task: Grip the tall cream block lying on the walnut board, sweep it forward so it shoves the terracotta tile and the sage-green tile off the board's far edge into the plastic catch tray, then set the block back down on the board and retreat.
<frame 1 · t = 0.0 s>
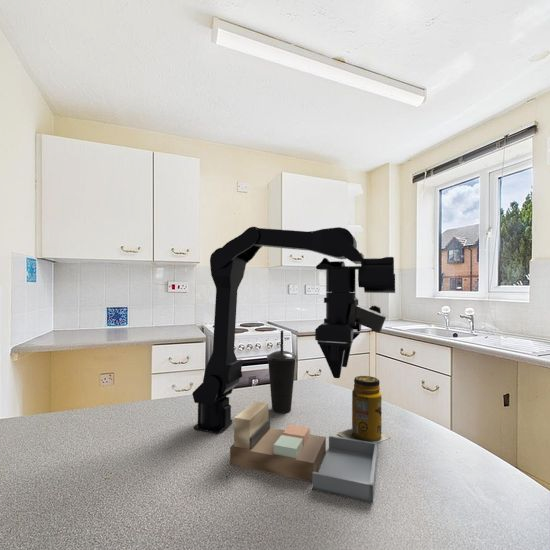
hand: (340, 372, 65), 15 cm above the countertop, tool pointing down, fingers open, 9 cm apart
tile terracotta: (296, 438, 62), point 3 cm above the countertop, touching walnut board
catch tray: (347, 471, 56), on the countertop
drinking cup: (281, 410, 85), on the countertop
tile sage: (288, 450, 57), point 3 cm above the countertop, touching walnut board
tall cream block: (252, 436, 63), point 3 cm above the countertop, touching walnut board
condiment: (363, 437, 70), on the countertop
walnut board: (279, 458, 61), on the countertop
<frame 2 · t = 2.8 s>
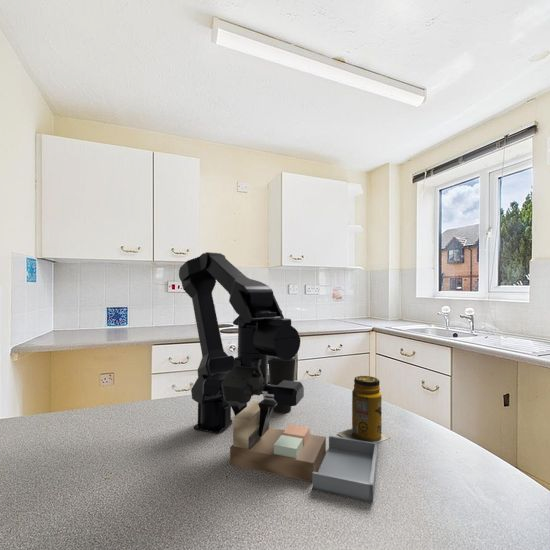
hand: (252, 434, 63), 4 cm above the countertop, tool pointing down, fingers closed on tall cream block, 3 cm apart
tall cream block: (251, 436, 63), point 3 cm above the countertop, touching gripper, walnut board
everything else where it was.
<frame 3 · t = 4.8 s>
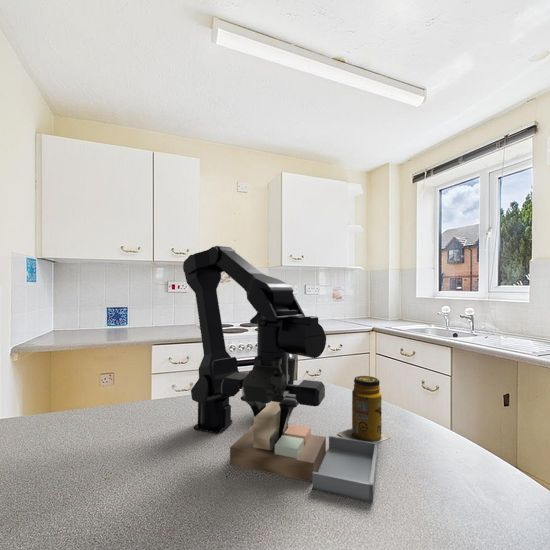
hand: (271, 435, 61), 4 cm above the countertop, tool pointing down, fingers closed on tall cream block, 3 cm apart
tile terracotta: (297, 438, 62), point 3 cm above the countertop, touching gripper, walnut board
tile sage: (289, 450, 57), point 3 cm above the countertop, touching gripper, walnut board
tall cream block: (270, 437, 61), point 3 cm above the countertop, touching gripper
everything else where it was.
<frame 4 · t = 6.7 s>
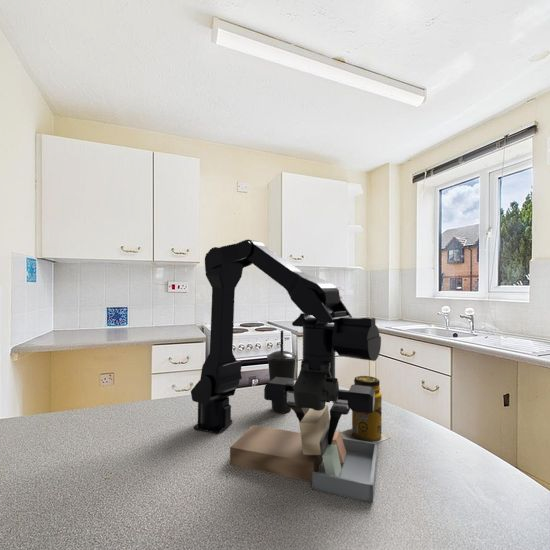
hand: (318, 442, 58), 4 cm above the countertop, tool pointing down, fingers closed on tall cream block, 4 cm apart
tile terracotta: (333, 447, 60), point 2 cm above the countertop, tilted 71°, touching catch tray, tall cream block
tile sage: (327, 462, 55), point 2 cm above the countertop, tilted 77°, touching catch tray, tall cream block
tall cream block: (318, 442, 58), point 4 cm above the countertop, tilted 8°, touching gripper, tile sage, tile terracotta
everything else where it was.
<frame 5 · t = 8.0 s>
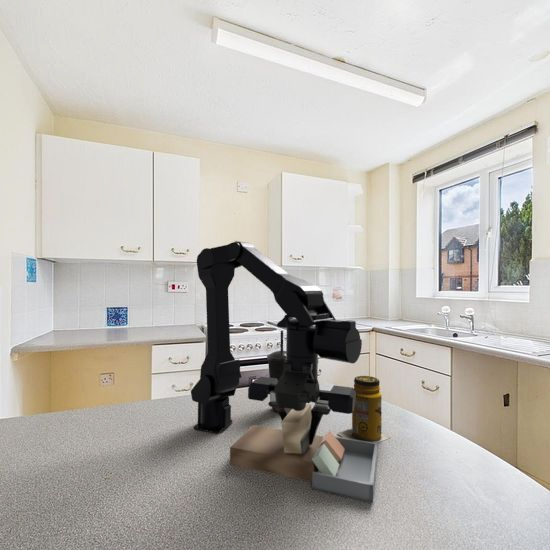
hand: (300, 441, 59), 4 cm above the countertop, tool pointing down, fingers closed on tall cream block, 4 cm apart
tile terracotta: (329, 449, 60), point 2 cm above the countertop, tilted 46°, touching catch tray, walnut board
tile sage: (322, 464, 55), point 2 cm above the countertop, tilted 49°, touching catch tray, walnut board
tall cream block: (300, 441, 59), point 4 cm above the countertop, tilted 7°, touching gripper
everything else where it was.
when the fingers open (4 cm above the countertop, at t = 9.0 s): tall cream block stays where it is, resting on walnut board.
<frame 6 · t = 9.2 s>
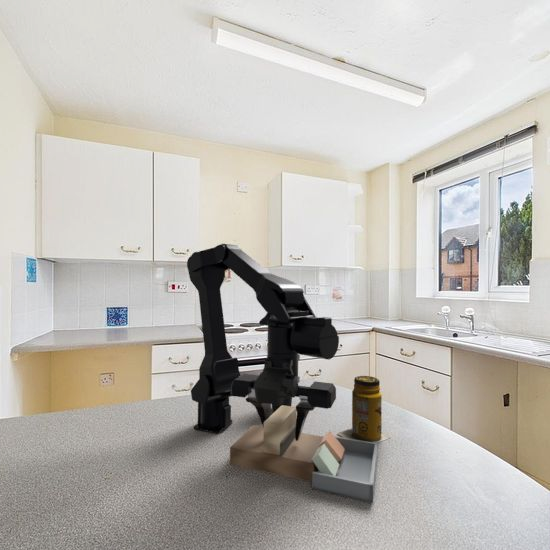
hand: (282, 437, 61), 4 cm above the countertop, tool pointing down, fingers open, 5 cm apart
tall cream block: (280, 442, 60), point 3 cm above the countertop, touching walnut board
everything else where it was.
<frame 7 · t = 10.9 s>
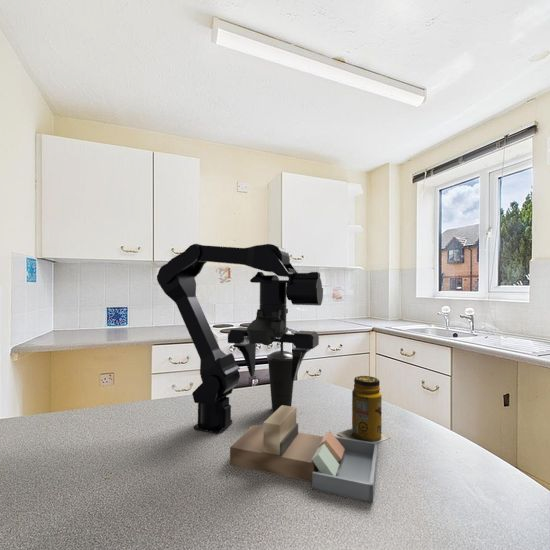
hand: (272, 378, 70), 12 cm above the countertop, tool pointing down, fingers open, 9 cm apart
nothing on the countertop moved.
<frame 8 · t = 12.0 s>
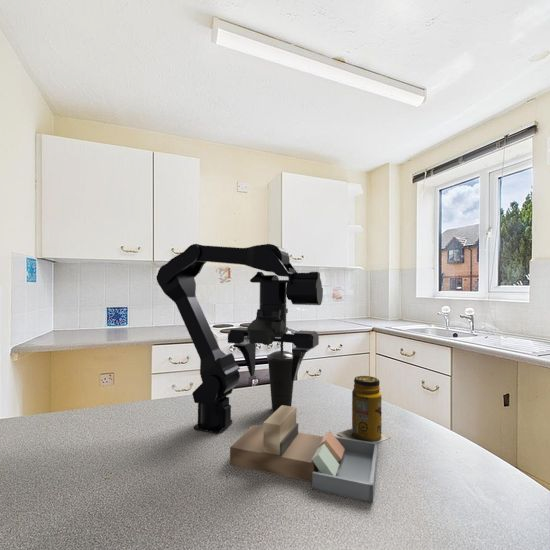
hand: (272, 378, 70), 12 cm above the countertop, tool pointing down, fingers open, 9 cm apart
nothing on the countertop moved.
at the end: tile terracotta inside the target area on the catch tray (4.7 cm from its centre), point 1.8 cm above the catch tray's base; tile sage inside the target area on the catch tray (4.8 cm from its centre), point 1.9 cm above the catch tray's base; the gripper is holding nothing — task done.
